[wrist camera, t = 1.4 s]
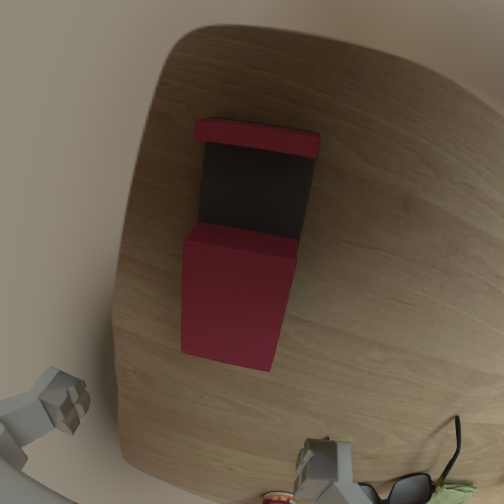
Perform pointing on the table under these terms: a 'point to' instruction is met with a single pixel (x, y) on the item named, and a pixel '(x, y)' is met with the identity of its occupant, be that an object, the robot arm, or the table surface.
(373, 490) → the sunglasses
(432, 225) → the table surface
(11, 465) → the robot arm
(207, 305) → the red and black block
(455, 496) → the washcloth
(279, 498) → the pill bottle
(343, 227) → the table surface
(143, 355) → the table surface
